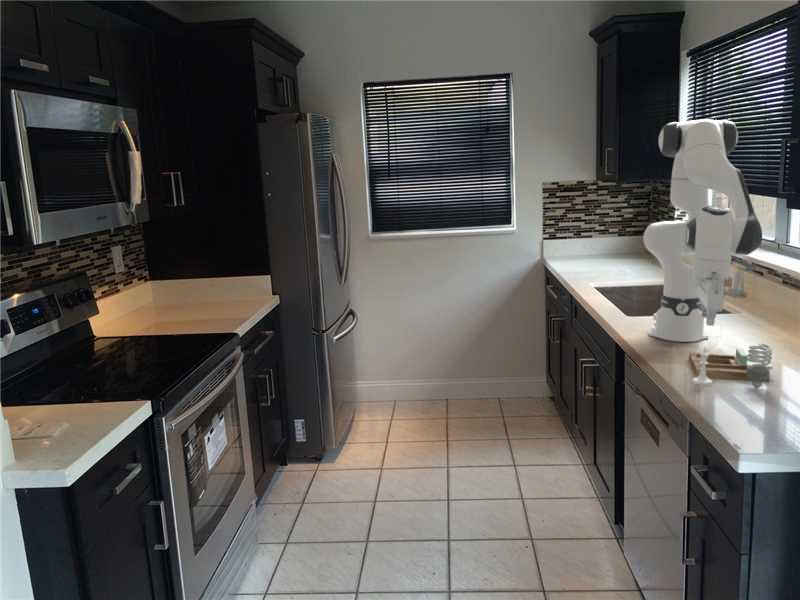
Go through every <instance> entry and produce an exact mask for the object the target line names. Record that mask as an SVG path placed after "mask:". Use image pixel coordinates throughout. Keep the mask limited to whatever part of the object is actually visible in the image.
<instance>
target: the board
mask: <svg viewBox="0 0 800 600" xmlns="http://www.w3.org/2000/svg"><path fill="white" fill-rule="evenodd" d="M700 354H701V353H699V352H698V353H696V352H695V353H694V352H689V354H688V363H689V362H690V363H689V365H690V364H691V365H690V368H691V370H692V369H693V370H692V371H694V372H693V374H694V373H695V374H694V375H695V376H694V377H695V378H696V377H698V376H699V375H700V371H701V366H702V364H700V361H702V359H701V355H700ZM707 354H708V355H709V356H708V358H707V360H706V362H708V364H706V377H707V378H708V379H710V380H722V381H723V380H725V381H738V382H750V383H752V382H751V380H749V379H748V378H747V367H748V366H744V365H738V364H737V362H736V361H735V359H734V356H735V355H733V354H732V355H730V354H729V355H728V354H717V353H716V354H714V353H713V354H711V353H707ZM770 375H771V373H769V376H770ZM765 382H766V383H767V382H768V383H770V377H769V378H768V380H767V381H765ZM765 382H764V383H765ZM768 383H767V384H768Z"/></svg>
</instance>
